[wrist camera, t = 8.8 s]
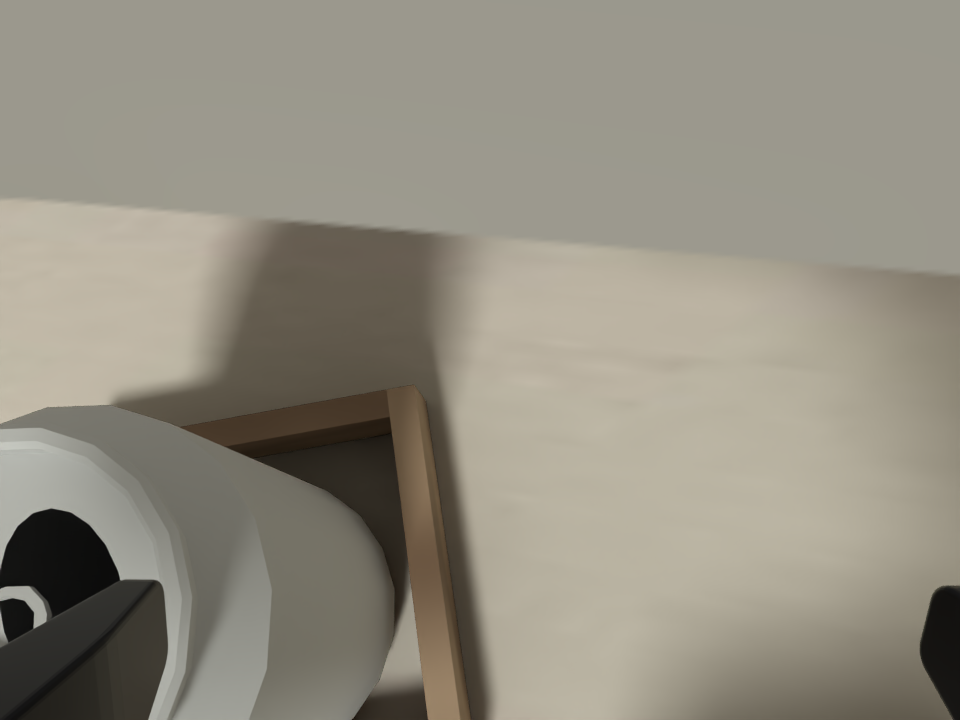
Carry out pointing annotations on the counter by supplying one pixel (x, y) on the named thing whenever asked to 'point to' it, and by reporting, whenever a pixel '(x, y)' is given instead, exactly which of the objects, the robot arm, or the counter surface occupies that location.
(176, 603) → the can
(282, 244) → the counter surface
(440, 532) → the frame
